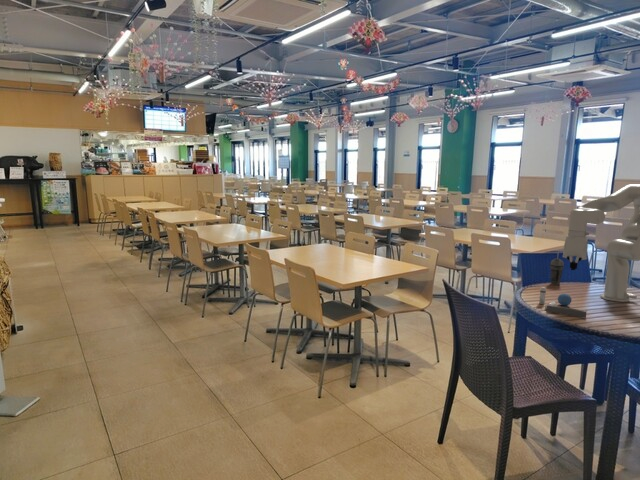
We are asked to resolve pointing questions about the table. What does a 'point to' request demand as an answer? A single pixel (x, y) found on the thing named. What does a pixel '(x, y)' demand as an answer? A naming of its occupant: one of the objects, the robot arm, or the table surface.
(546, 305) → the cream pin
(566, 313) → the back wall
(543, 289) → the grey pin
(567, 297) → the ball
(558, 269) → the beverage cup
